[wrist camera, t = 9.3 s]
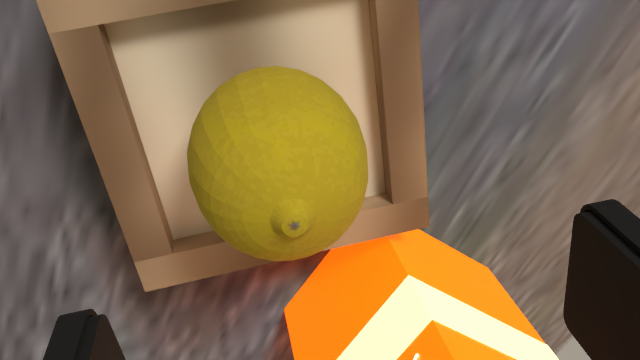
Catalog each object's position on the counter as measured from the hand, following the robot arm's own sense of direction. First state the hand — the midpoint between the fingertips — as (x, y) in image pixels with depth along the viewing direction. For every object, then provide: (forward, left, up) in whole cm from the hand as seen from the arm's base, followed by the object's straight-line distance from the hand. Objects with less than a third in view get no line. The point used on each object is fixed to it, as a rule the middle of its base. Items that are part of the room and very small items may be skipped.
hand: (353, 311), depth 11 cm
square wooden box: (+1, 0, -15) cm, 15 cm away
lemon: (+1, 0, -12) cm, 12 cm away
